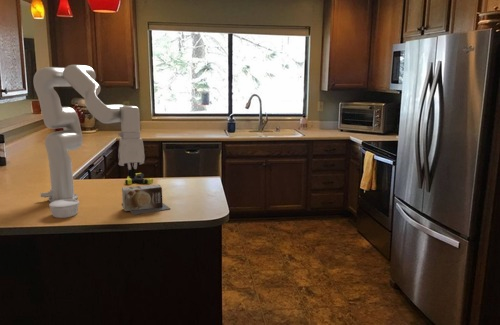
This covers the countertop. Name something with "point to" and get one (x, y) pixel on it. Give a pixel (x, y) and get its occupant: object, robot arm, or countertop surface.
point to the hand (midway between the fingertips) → (131, 177)
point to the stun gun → (138, 179)
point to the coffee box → (142, 197)
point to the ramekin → (64, 208)
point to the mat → (149, 210)
